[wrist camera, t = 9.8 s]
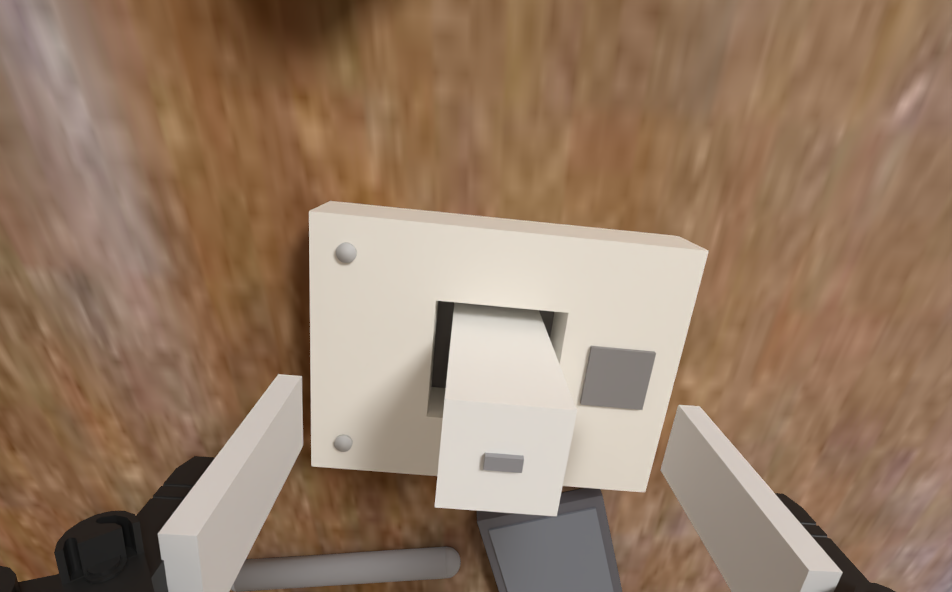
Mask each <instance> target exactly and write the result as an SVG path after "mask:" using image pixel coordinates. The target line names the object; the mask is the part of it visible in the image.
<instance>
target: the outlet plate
mask: <svg viewBox="0 0 952 592" xmlns="http://www.w3.org/2000/svg"><path fill="white" fill-rule="evenodd" d="M707 255H708V250H706V249H704V248H702V247H700V246H698V245H696V244H693V243H691V242H689V241H687V240H685V239H683V238H681V237H679V236H673V235H663V234H653V233H643V232H633V231H623V230H613V229H603V228H594V227H584V226H574V225H564V224H554V223H544V222H534V221H524V220H514V219H504V218H494V217H484V216H474V215H464V214H454V213H444V212H434V211H425V210H415V209H405V208H395V207H385V206H375V205H365V204H355V203H345V202H335V201H329V202H327V203H325V204H323V205H321V206H319V207H317V208H314V209H312V210H310V211H309V269H310V375H311V466H314V467H327V468H340V469H353V470H365V471H378V472H391V473H404V474H417V475H430V476H438V465H439V454H440V443H441V432H442V421H443V410H444V400H445V390H446V380H447V370H448V360H449V351H450V341H451V331H452V321H453V312H454V302H457V303H468V304H479V305H490V306H500V307H511V308H522V309H533V310H539V312H540V315H541V317H542V320H543V323H544V325H545V328H546V330H547V333H548V336H549V338H550V341H551V343H552V346H553V349H554V351H555V354H556V356H557V359H558V362H559V364H560V367H561V369H562V372H563V375H564V377H565V380H566V382H567V385H568V388H569V390H570V393H571V395H572V398H573V401H574V403H575V406H576V408H577V414H576V420H575V425H574V430H573V435H572V440H571V445H570V451H569V456H568V461H567V466H566V471H565V476H564V481H563V486H570V487H583V488H596V489H609V490H622V491H635V492H645V491H646V487H647V483H648V480H649V476H650V472H651V468H652V464H653V461H654V457H655V453H656V449H657V445H658V442H659V438H660V434H661V430H662V426H663V423H664V419H665V415H666V411H667V407H668V403H669V400H670V396H671V392H672V388H673V384H674V381H675V377H676V373H677V369H678V365H679V362H680V358H681V354H682V350H683V346H684V343H685V339H686V335H687V331H688V327H689V324H690V320H691V316H692V312H693V308H694V305H695V301H696V297H697V293H698V289H699V285H700V282H701V278H702V274H703V270H704V266H705V263H706V259H707Z"/></svg>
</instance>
